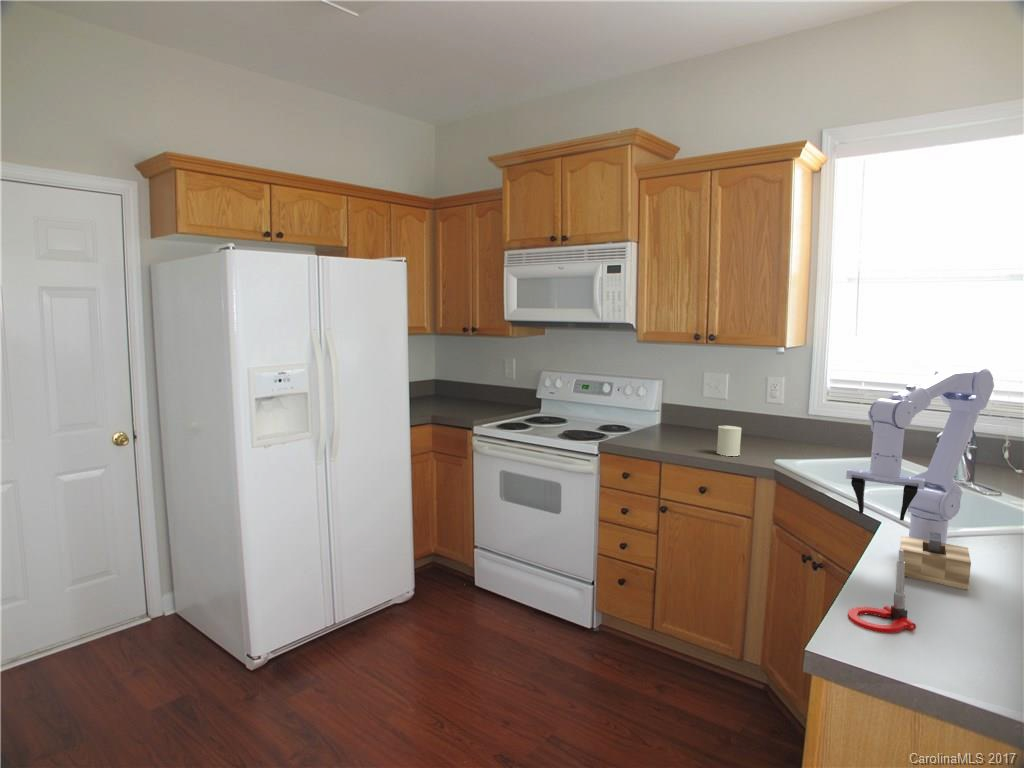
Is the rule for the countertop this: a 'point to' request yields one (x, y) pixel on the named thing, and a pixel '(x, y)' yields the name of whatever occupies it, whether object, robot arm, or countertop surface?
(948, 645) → the countertop surface
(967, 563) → the slotted wooden block
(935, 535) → the grey flat piece
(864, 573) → the countertop surface
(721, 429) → the can
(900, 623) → the tow hook
